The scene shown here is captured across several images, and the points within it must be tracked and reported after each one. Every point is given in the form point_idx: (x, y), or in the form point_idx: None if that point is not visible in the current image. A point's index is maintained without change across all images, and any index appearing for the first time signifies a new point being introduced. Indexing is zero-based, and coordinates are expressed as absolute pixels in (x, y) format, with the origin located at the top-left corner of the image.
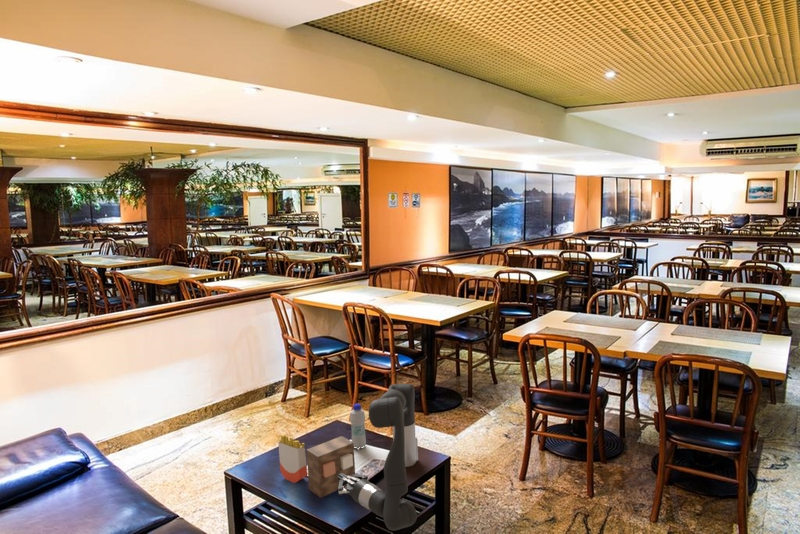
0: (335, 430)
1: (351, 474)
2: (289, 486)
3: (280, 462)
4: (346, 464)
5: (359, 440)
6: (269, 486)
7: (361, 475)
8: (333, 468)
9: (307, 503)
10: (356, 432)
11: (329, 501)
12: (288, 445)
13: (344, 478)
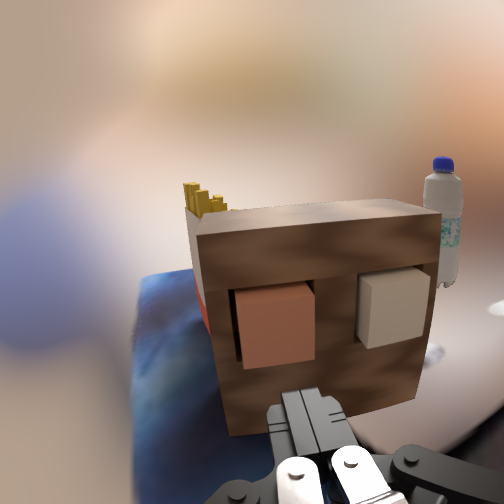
0: None
1: (405, 371)
2: (188, 344)
3: (193, 270)
4: (389, 324)
5: (443, 261)
6: (152, 326)
7: (492, 476)
8: (301, 331)
9: (164, 437)
10: None
11: (248, 476)
12: (193, 213)
13: (296, 477)
